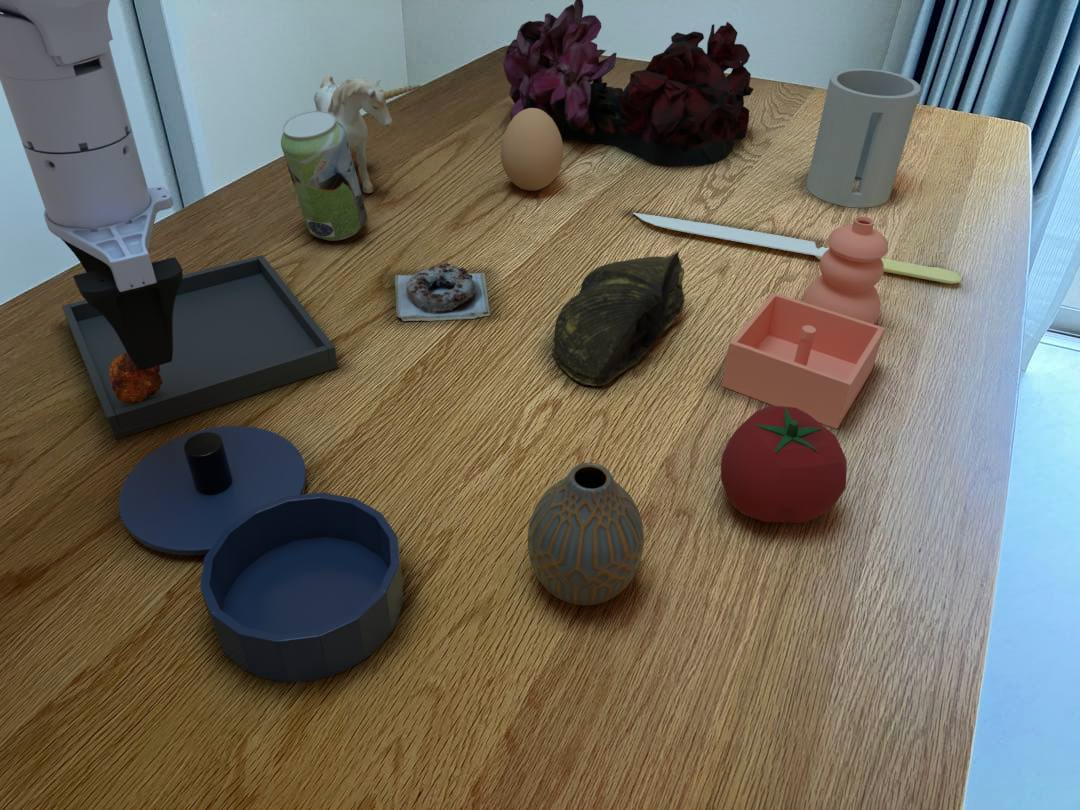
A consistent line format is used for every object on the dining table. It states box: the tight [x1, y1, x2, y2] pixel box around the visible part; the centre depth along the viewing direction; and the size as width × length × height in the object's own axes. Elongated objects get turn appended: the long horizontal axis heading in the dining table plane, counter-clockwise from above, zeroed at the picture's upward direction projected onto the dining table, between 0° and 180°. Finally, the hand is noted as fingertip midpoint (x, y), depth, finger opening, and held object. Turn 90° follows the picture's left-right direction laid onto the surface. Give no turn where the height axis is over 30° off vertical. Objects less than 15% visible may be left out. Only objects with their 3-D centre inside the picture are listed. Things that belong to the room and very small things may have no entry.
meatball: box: [109, 353, 163, 404], centre depth 66 cm, size 4×4×4 cm
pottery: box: [721, 215, 889, 430], centre depth 72 cm, size 18×10×10 cm, turn 147°
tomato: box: [720, 405, 848, 524], centre depth 59 cm, size 8×8×7 cm
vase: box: [527, 462, 645, 606], centre depth 52 cm, size 7×7×9 cm
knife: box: [632, 212, 963, 285], centre depth 89 cm, size 1×33×5 cm
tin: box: [199, 492, 405, 683], centre depth 52 cm, size 11×11×4 cm
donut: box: [394, 261, 491, 322], centre depth 80 cm, size 8×8×2 cm
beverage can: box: [280, 110, 368, 242], centre depth 86 cm, size 6×7×12 cm
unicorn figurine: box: [313, 75, 423, 194], centre depth 94 cm, size 7×20×13 cm, turn 37°
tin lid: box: [118, 425, 307, 556], centre depth 59 cm, size 12×12×5 cm
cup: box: [805, 67, 922, 209], centre depth 97 cm, size 9×9×12 cm
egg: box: [500, 108, 564, 192], centre depth 96 cm, size 7×7×9 cm
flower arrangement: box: [502, 0, 755, 168], centre depth 107 cm, size 31×20×15 cm, turn 76°
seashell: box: [551, 251, 685, 387], centre depth 75 cm, size 16×9×7 cm, turn 149°
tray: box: [61, 254, 338, 440], centre depth 73 cm, size 17×17×2 cm
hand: (139, 334), depth 59 cm, fingers open, 7 cm apart
